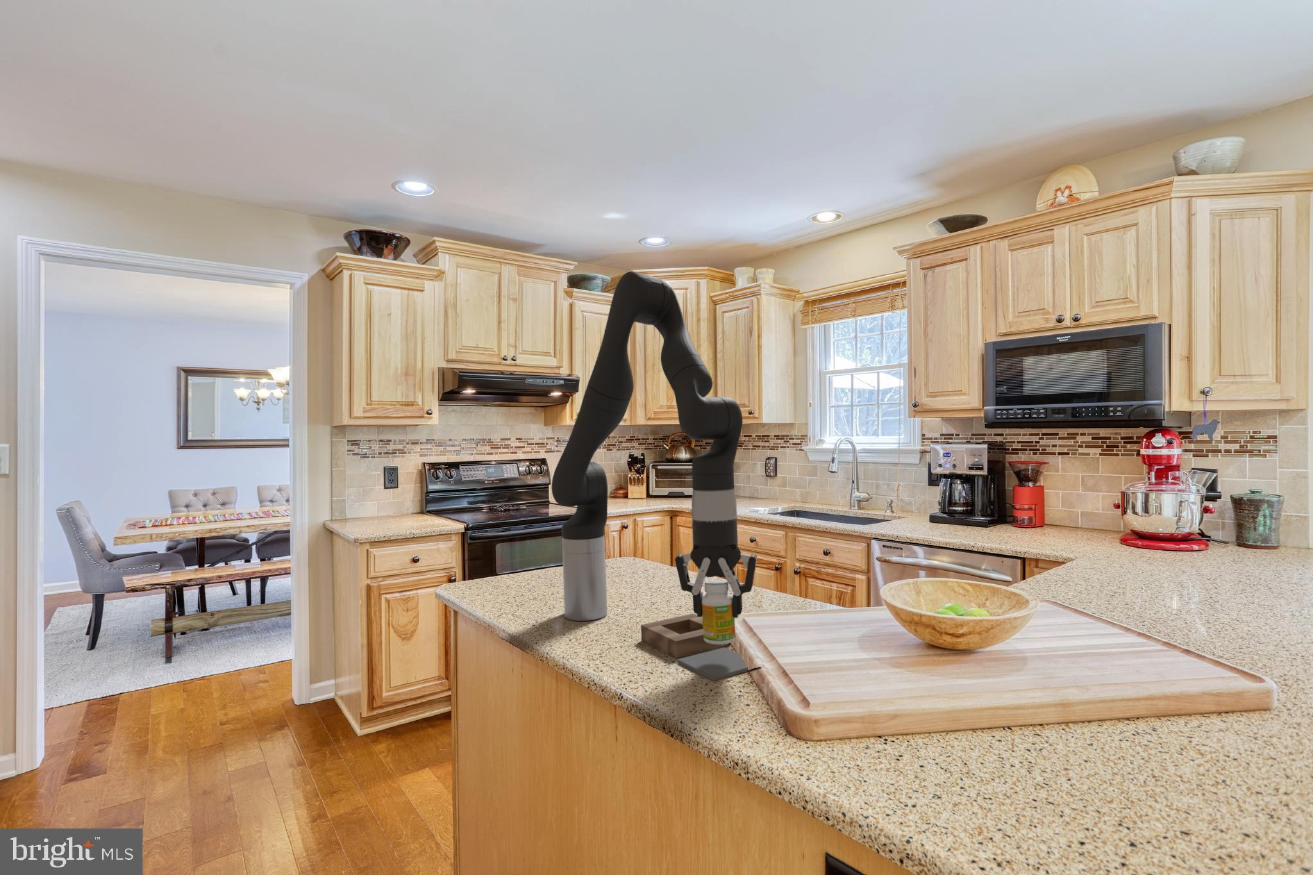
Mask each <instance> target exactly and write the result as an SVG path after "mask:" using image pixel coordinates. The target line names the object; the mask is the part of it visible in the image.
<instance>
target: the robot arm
mask: <svg viewBox="0 0 1313 875" xmlns="http://www.w3.org/2000/svg"><path fill="white" fill-rule="evenodd" d="M684 317H685V316H684V315H683V312H682V308H681V306H680V303H679V298H678V296H677V294H676V292H675V290H674V288H673V286H672V284H671V283H670V282H668V281H667V280H666V279H663V278H659V277H655V276H652V275H648V274H645V273H642V272H638V271H630V270H629V271H626V273H624V274H623V275H622V276H621V277H620V279H619V280H618V282H617V284H616V286H615V290H614V293H613V295H612V299H611V304H610V308H609V312H608V315H607V319H606V320H607V321H606V324H605V328H604V332H603V337H602V339H601V344H600V347H599V349H598V350H599V351H598V354H597V357H596V360H595V363H594V365H593V369H592V371H591V375H590V377H589V379H588V382H587V386H586V389H585V391H584V394H583V397H582V401H581V404H580V407H579V411H578V414H577V416H576V419H575V422H574V425H573V428H572V431H571V434H570V436H569V438H568V440H567V443H566V444H565V447H564V450H562V451H563V452H562V453H561V455H560V458H559V461H557V465H556V467H555V469H554V472H553V476H552V479H551V494H552V497H553V500H554V501H555V502H556V504H557V505H559V506H561V507H571V508H572V507H576V511H575V512H574V514H573V515H572V516H571V517H570V518H569V519H568V520H567V521H564V522H563V524H562V526H561V550H562V552H561V553H562V577H563V578H562V579H563V603H564V604H563V606H564V617H565V618H566V619H567V620H570V621H578V622H579V621H580V622H581V621H582V622H583V621H584V622H586V621H595V620H597V619H598V620H600V619H602V618H604V617H606V616H607V615H608V601H607V600H608V598H607V596H608V595H607V569H606V568H607V567H606V565H607V564H606V563H607V562H606V544H605V541H606V540H605V539H606V538H605V528H606V524H607V521H608V505H609V504H608V501H609V500H608V499H609V498H608V496H609V495H608V492H609V488H608V479H607V474H606V471H605V470H604V468H603V466H602V465H601V464H599V463H597V462H595V461H592V459H593V457H594V455H595V453H596V452H597V450H598V449H599V447H601V445H603V443H604V442H605V441H606V440H607V439H608V438H609V436H610V435H611V434H612V433H613V432H614V431H615V430H616V428H618V427H619V425H620V424H621V423H622V421H623V419H624V417H625V414H626V412H627V410H628V407H629V404H630V401H631V400H632V396H633V394H634V388H635V387H634V385H635V384H634V383H635V382H634V377H633V371H632V368H631V364H630V362H631V361H630V357H629V353H628V351H629V350H628V348H629V347H628V344H629V340H630V334H631V332H632V328H633V325H634V323H638V324H643V325H648V326H653V327H654V328H656V330H657V331H658V332H659V334H660V335H661V337H662V338H663V343H662V347H661V352H660V363H661V364H660V365H661V369H662V372H663V373H664V374H663V375H665V377H666V379H667V382H668V383H669V385H670V388H671V389H672V392H673V393H674V399H675V403H676V410H677V416H678V423H679V426H680V429H681V431H682V432H683V433H684V434H685V435H686V436H687V437H688V438H690V439H692V440H696V441H697V440H699V441H700V440H713V441H712V444H711V446H710V448H709V450H707V452H704V453H700V454H698V455H696V456H694V457H693V459H692V462H691V476H692V477H691V480H692V496H691V497H692V498H691V510H690V512H691V513H690V514H691V519H692V520H691V523H692V524H691V528H692V549H691V552H690V553H679V554H677V555H676V556H675V557H674V562H675V567H676V571H677V575H678V578H679V579H678V580H679V584H680V587H681V588H680V589H681V590H682V591H683V592H688V593H691V595H692V610H693V614H696V615H697V617H702V597H703V596H704V595H703V592H702V587H703V585H704V584H705V580H706V578H714V577H719V578H725V579H726V581H727V582H728V586H729V588H731V591H732V592H733V594H732V597H733V618H735V619H738V618H739V615H741V614H742V613H743V595H744V594H745V593H750V592H751V591H752V588H753V587H754V586H753V585H754V578H755V573H756V566H757V559H758V556H757V555H756V554H755V553H752V554H747V553H742V551H741V550H740V548H739V540H738V538H739V537H738V536H739V535H738V516H737V515H738V509H737V497H736V492H735V490H736V489H735V473H734V471H735V469H734V465H735V459H736V455H737V452H738V451H737V450H738V447H739V442H740V437H741V433H742V428H743V413H742V409H741V407H740V405H739V404H738V402H737V401H736V400H735V399H734V398H732V397H727V396H716V397H715V396H714V397H713V396H710V397H709V396H708V395H709V394H710V393H711V391H712V389H713V379H712V376H711V374H710V372H709V370H708V368H707V366H706V365H705V363H704V361H703V360H702V358H701V356H700V354H699V353H698V350H697V349H696V347H695V345H694V343H693V341H692V338H691V335H690V333H689V330H688V327H687V326H688V325H687V324H686V321H685V318H684ZM707 396H708V397H707ZM690 561H692V562H693V564H694V566H696V568H697V569H698V572H697V575H696V578H695V581H694V582H691V579H690V576H689V570H688V567H689V565H690V564H691V562H690ZM740 561H741V562H742V565H743V567H744V568H745V569H746V575H745V581H744V583H742V584H741V582H740V581H739V578H738V574H737V573H736V570H735V567H736V566H737V564H738V563H739V562H740Z"/></svg>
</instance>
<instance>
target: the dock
mask: <svg viewBox="0 0 1313 875" xmlns="http://www.w3.org/2000/svg"><path fill="white" fill-rule="evenodd" d="M640 632H641V633H640V635H641V638H640V639H641V642H643V643H645V644H648V645H649V646H652V647H653V648H655V649H657V650H659V651H661V652H663V653H665V654H667V655H669V656H671V657H672V658H675V659H681V658H685V657H689V656H692V655H696V654H700V653H704V652H708V651H710V650H709V649H711V650H714V649H713V648H715V647H719V648H721V647H720V646H722V645H726V646H728V645H727V644H710V643H707V642H705V640H704V636H703V619H702V617H697V614H696V613H688V614H684V615H679V616H675V617H670V618H667V619H662V620H658V621H651V622H648V623H645V624H644V623H643V624H640ZM728 644H729V643H728ZM722 647H723V646H722ZM715 649H716V648H715Z"/></svg>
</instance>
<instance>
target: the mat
mask: <svg viewBox="0 0 1313 875" xmlns="http://www.w3.org/2000/svg"><path fill="white" fill-rule="evenodd" d="M740 654H741V653H740V652H737V651H734V650H732V649H729V648H727V647H726V646H723V647H719V648H715V649H711V650H707V651H704V652H700V653H696V654H692V655H688V656H684V657H681V658H677V663H678V664H679V665H681V666H684V667H685V668H687V669H688V670H691V671H693V672H695V673H697V674H698V675H701V676H703V677H704V678H706V679H708V680H710V681H712V682H715V681H718V680H722V679H726V678H728V677H733V676H735V675H740V674H742V673H741V672H743V673H746V672H748V671H747V670H748V667H747V665H746V664H745V662H744V660H743V659H742V657H741V656H740Z"/></svg>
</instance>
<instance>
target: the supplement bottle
mask: <svg viewBox="0 0 1313 875" xmlns="http://www.w3.org/2000/svg"><path fill="white" fill-rule="evenodd" d="M729 588H730V586H729V583H728V582H727V580H724V579H713V580H712V579H711V580H707V581H704V592H705V593H706V594H704V595H703V597H702V619H703V636H704V640H705V642H707V643H710V644H728V643H731V644H732V642H735V640H736V624H735V622H736V620H735V619H736V618H733V594H730V593H728V592H729Z"/></svg>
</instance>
